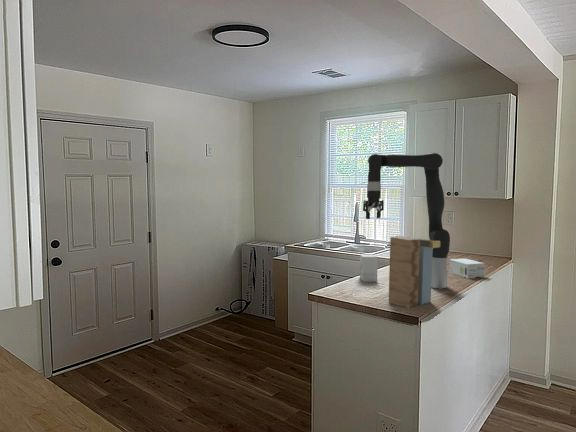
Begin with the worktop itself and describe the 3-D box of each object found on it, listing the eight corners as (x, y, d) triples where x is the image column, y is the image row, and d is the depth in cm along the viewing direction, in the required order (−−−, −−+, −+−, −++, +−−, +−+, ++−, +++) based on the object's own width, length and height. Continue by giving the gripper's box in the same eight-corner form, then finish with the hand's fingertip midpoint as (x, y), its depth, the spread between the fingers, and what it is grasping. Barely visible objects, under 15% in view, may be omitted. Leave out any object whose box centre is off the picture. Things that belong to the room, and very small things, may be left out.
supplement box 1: (374, 278, 265) (374, 254, 264) (377, 281, 256) (378, 256, 255) (359, 278, 264) (359, 254, 263) (362, 281, 255) (362, 256, 254)
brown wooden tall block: (397, 299, 217) (399, 236, 214) (417, 305, 207) (420, 239, 205) (388, 302, 213) (390, 237, 210) (408, 307, 203) (410, 240, 201)
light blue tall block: (410, 296, 223) (412, 242, 221) (430, 302, 213) (432, 245, 211) (401, 298, 219) (403, 243, 216) (421, 304, 209) (423, 247, 207)
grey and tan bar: (400, 241, 226) (401, 235, 226) (440, 247, 207) (440, 240, 207) (393, 242, 222) (393, 236, 222) (432, 248, 203) (432, 241, 203)
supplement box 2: (448, 273, 283) (449, 259, 282) (465, 272, 287) (466, 258, 286) (467, 278, 267) (467, 263, 266) (484, 277, 271) (485, 262, 270)
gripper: (377, 189, 250) (376, 217, 251) (360, 189, 242) (359, 218, 243) (387, 189, 244) (386, 218, 245) (370, 190, 236) (369, 219, 237)
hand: (373, 218), depth 244 cm, fingers open, 8 cm apart
